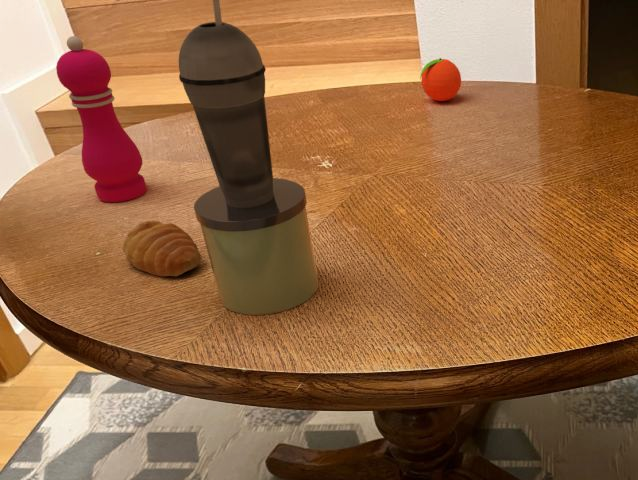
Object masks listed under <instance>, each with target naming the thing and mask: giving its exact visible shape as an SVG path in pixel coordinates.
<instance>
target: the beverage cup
mask: <svg viewBox="0 0 638 480" xmlns="http://www.w3.org/2000/svg"><path fill="white" fill-rule="evenodd" d="M212 5H213V6H212V7H213V14H214V21H211V22H205V23H201V24H199V25H197V26H196V27H194V28H193V29H191V31H190V32H188V34H187V35H186V37H185V38H184V40H183V42H182V44H181V46H180V50H179V52H178V70H179V73H178V75H179V76H178V77H179V81H180V83H181V84H182V86H183V89H184V92H185V94H186V96H187V98H188V100H189V102H190V104H191V106H192V108H193V110H194V114H195V116H196V120H197V123H198V125H199V128H200V132H201V135H202V138H203V140H204V143H205V146H206V149H207V153H208V156H209V159H210V161H211V164H212V167H213V170H214V173H215V177H216V179H217V182H218V185H219V186H220V188H221V189H222V192H223V195H224V197H225V201H226V203H227V205H229V206H231V207H235V208H250V207H255V206H260V205H263V204H265V203H267V202H269V201H271V200H272V199H273V197H274V192H273V178H274V174H273V164H272V156H271V145H270V138H269V127H268V126H269V125H268V117H267V108H266V100H265V95H266V75H265V73H266V70H267V69H266V66H265V64H263V58H262V56H261V54H260V52H259V50H258V48H257V46H256V43H254V42H253V41H252V39H251V38H250V37H249V36H248V35H247V34H246V33H245V32H244V31H242V30H241V29H240V28H238V27H237V26H235V25H233V24H230V23H227V22H223V20H222V11H221V4H220V0H212Z"/></svg>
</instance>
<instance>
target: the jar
mask: <svg viewBox="0 0 638 480" xmlns="http://www.w3.org/2000/svg"><path fill="white" fill-rule="evenodd" d="M273 192H274V197H273V199H272V200H271V201H269V202H267V203H265V204H263V205H260V206H255V207H250V208H235V207H231V206H229V205H227V203H226V201H225V197H224V195H223V192H222V189H221V188H220V185H219V186H217V187H214V188H212V189H209V190H208V191H206V192H204V193H203V194H202V195H200V196H199V197H198V198H197V199H196V201H195V202H194V203H193V210H194V215H195V219H196V221H197V222H198V223H199V225H200V228H201V229H200V230H201V232H202V236H203V240H204V244H205V247H206V250H207V256H208V259H209V262H210V266H211V270H212V273H213V278H214V282H215V285H216V288H217V293H218V296H219V301H220V303H221V304H222V305H223V307H225V308H226V309H227V310H230V311H231V312H234V313H236V314H242V315H249V316H258V315H259V316H263V315H264V316H265V315H272V314H276V313H282V312H285V311H288V310H291V309H293V308H296V307H298V306H300V305H302V304H304V303H305V302H307V301H308V300H309V299H311V298H312V297H313V296H314V295H315V293H317V291H318V289H319V276H318V270H317V265H316V264H317V263H316V260H315V253H314V248H313V243H312V242H313V241H312V236H311V231H310V224H309V218H308V213H307V207H306V206H307V203H308V202H307V201H308V200H307V195H306V190H305V188H304V186H302V185H301V184H299V183H298V182H296V181H294V180H290V179H285V178H278V177H277V178H276V177H273Z"/></svg>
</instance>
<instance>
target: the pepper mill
mask: <svg viewBox="0 0 638 480" xmlns="http://www.w3.org/2000/svg"><path fill="white" fill-rule="evenodd" d="M66 46H67V48H68V49H69V51H67V52H65V53H63V54H62V55H61V56H60V57H59V58H58V60H57V62H56V67H55V68H56V69H55V71H56V75H57V78H58V81H59V82H60V84H61V85H62V86H63V87H64V88H66V89H67V90H68V91H69V92H70V93H69V94H68V97H69V99H70V101H71V106H72V107H73V108H76V109H77V112H78V114H79V115H78V116H79V118H80V121H81V125H82V126H81V127H82V144H81V163H82V166H83V167H82V168H83V170H84V173H85V174H86V175H87V176H88V177H89V178H91V179H93V180H94V181H95V184H94V190H95V194H96V196H97V199H99V200H100V201H102V202H104V203H121V202H126V201H130V200H133V199H136V198H139V197H141V196H142V195H144V194H145V193H146V192H147V188H148V187H147V184H146V181H145V177H144V176H143V175H142V174H140V171H141V169H142V166H143V157H142V155H141V152H140V149H139V148H138V147H137V144H136V143H135V142H134V141H133V140H132V138H131V137H130V136H129V134H128V133H127V132H126V130H125V129H124V128H123V127H122V125H121V122H120V121H119V120H118V117H117V114H116V112H115V109H114V105H113V102H114V100H115V96H114V95H113V89H112V88H110V87H109V84H110V82H111V78H112V72H111V68H110V65H109V63H108V61H107V60H106V59H105V58H104V57H103V56H102V55H101V54H100V53H98V52H97V51H95V50H92V49H87V48H84V42H83V40H82V39H81V38H79V36H75V35H71V36H69V37H68V38H67V39H66Z"/></svg>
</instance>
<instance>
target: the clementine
mask: <svg viewBox="0 0 638 480" xmlns="http://www.w3.org/2000/svg"><path fill="white" fill-rule="evenodd" d="M419 77H420V80H421V86H422V89H423V92H424V93H425V94H426V95H427V96H428V97H429V98H430V99H432V100H434V101H436V102H446V101H449V100H452V99H453V98H455V96H456V95H457V94H458V92H459V91H460V88H461V86H462V75H461V72H460V70H459V67H458V66H456V64H455V63H454V62H452V61H450V60H449V59H445V58H442V57H439V58H436V59H433V60H430V61H429V62H427V63H426V64H425V65H424V67H423V68H422V70H421V72H420V76H419Z"/></svg>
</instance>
